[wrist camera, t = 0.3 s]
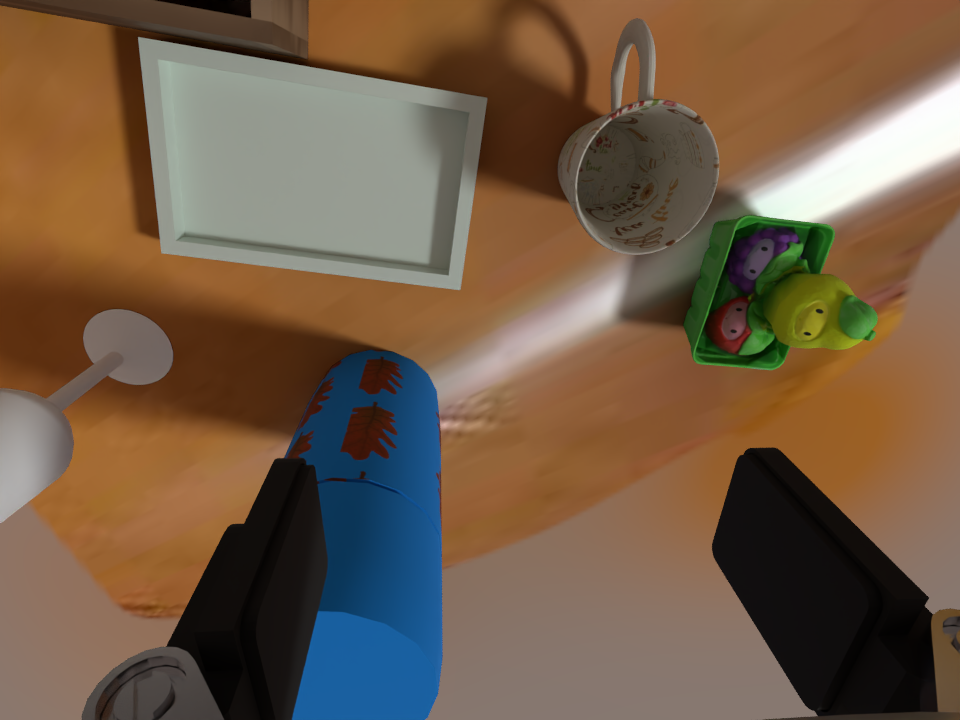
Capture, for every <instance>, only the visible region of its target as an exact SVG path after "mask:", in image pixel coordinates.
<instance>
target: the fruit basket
mask: <svg viewBox="0 0 960 720" xmlns="http://www.w3.org/2000/svg"><path fill="white" fill-rule="evenodd" d="M834 237H835V231H834V229H833V228H832V227H831V226H830V225H827V224H819V223H810V222H801V221H793V220H784V219H776V218H768V217H761V216H754V215H747V216H743V217H740V218H738V219H733V220H726V221H718V222H716V223H715V224H714V227H713V230H712V233H711V237H710V244H709V245H710V248H708V250H707V252H706V253H705V256H704V259H703V263H702V266H701V269H700V276H701V277H700V278H699V279H698V281H697V282H696V285H695V288H694V292H693V295H692V298H691V305H692V306H691V307H690V308H689V310H688V311H687V314H686V317H685V321H684V324H683V326H684V329H685V332H686V334H687V337H688V340H689V342H690V345H691V353H692V357H693V360H694V361H695V362H696V363H698V364H704V365H719V366H732V367H744V368H753V369H763V370H774V369H776V368H778V367H780V366H781V365H782V364H783V363H784V361H785V358H786V356H787V354H788V351H789V349H790V346H792V347H797V348H818V347H824V348H828V349H834V350H843V349H847V348H850V347H852V346H854V345H856V344H858V343H859V342H861V341H862V340H863V339H864V340H868V341H871V340H872V339H873V338H874V337H875V335H876V332H875V331H873V330H872V329H873V328H874V326H875V325H876V323H877V314H876V312H875V310H874V309H873V308H872V307H871V306H869V305H868V304H866V303H864V302H863V301H861V300H860V299H858V298H857V297H856V296H855V295H854V293H853V292H852V290H851V289H850V288H849V286H848V285H847V284H846V283H844V282H843V281H842V280H840V279H839V278H837V277H835V276H833V275H831V274H820V273H821V271H822V268H823V266H824V263H825V261H826V258H827V256H828V253H829V251H830V248H831V246H832V243H833V240H834Z"/></svg>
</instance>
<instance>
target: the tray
mask: <svg viewBox="0 0 960 720" xmlns="http://www.w3.org/2000/svg"><path fill="white" fill-rule="evenodd" d="M138 42H139V52H140V61H141V70H142V79H143V88H144V97H145V106H146V116H147V125H148V134H149V143H150V152H151V161H152V171H153V180H154V189H155V198H156V207H157V216H158V225H159V235H160V244H161V253H165V254H173V255H181V256H189V257H197V258H205V259H213V260H221V261H229V262H237V263H245V264H253V265H262V266H270V267H278V268H286V269H294V270H302V271H310V272H318V273H326V274H334V275H342V276H350V277H358V278H366V279H374V280H382V281H391V282H399V283H407V284H415V285H423V286H431V287H439V288H447V289H455V290H460V288H461V281H462V274H463V267H464V260H465V253H466V246H467V239H468V232H469V225H470V218H471V211H472V204H473V197H474V189H475V182H476V175H477V168H478V161H479V154H480V147H481V140H482V133H483V126H484V119H485V112H486V105H487V98H485V97H479V96H474V95H468V94H462V93H457V92H451V91H445V90H439V89H434V88H428V87H422V86H416V85H411V84H405V83H399V82H393V81H388V80H382V79H376V78H371V77H365V76H359V75H353V74H348V73H342V72H336V71H330V70H325V69H319V68H313V67H308V66H302V65H296V64H290V63H285V62H279V61H273V60H267V59H262V58H256V57H250V56H244V55H239V54H233V53H227V52H222V51H216V50H210V49H204V48H199V47H193V46H187V45H181V44H176V43H170V42H164V41H159V40H153V39H147V38H141V37H138Z"/></svg>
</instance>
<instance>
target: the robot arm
mask: <svg viewBox="0 0 960 720" xmlns="http://www.w3.org/2000/svg"><path fill="white" fill-rule="evenodd" d="M712 551H713V556H714V558H715V560H716V562H717V564H718V565H719V567H720V569H721V570H722V572H723V573H724V575H725V577H726V578H727V580H728V582H729V583H730V585H731V586H732V588H733V590H734V591H735V593H736V595H737V596H738V598H739V599H740V601H741V603H742V604H743V606H744V607H745V609H746V611H747V612H748V614H749V616H750V617H751V619H752V621H753V622H754V624H755V625H756V627H757V629H758V630H759V632H760V633H761V635H762V637H763V638H764V640H765V642H766V643H767V645H768V646H769V648H770V650H771V651H772V653H773V654H774V656H775V658H776V659H777V661H778V663H779V664H780V666H781V667H782V669H783V671H784V672H785V674H786V676H787V677H788V679H789V680H790V682H791V684H792V685H793V687H794V689H795V690H796V692H797V693H798V695H799V696H800V698H801V700H802V701H803V703H804V704H805V705H806V706H807V707H808V708H809V709H811V710H814V711H815V712H816V714H817V715H818V716H816V717H800V718H799V717H798V718H782V719H765V720H960V610H957V609H943V610H939V611H937V612H936V613H935V614H932V613H931V612H929V610H928V609H927V608H926V607H925V604H926V602H927V600H928V599H929V597H928V596H926V594H925V593H924V592H923V591H922V590H921V589H920V588H919V587H917V585H915V583H913V582H912V580H910V579H909V578H908V577H907V576H906V575H905V574H904V573H903V572H902V571H901V570H900V569H899V568H898V567H897V566H896V565H895V564H894V563H893V562H892V561H891V560H890V559H889V558H888V557H887V556H886V555H885V554H884V553H883V552H882V551H881V550H880V549H879V548H878V547H877V546H876V545H875V544H874V543H873V542H872V541H871V540H870V539H869V538H868V537H867V536H866V535H865V534H864V533H863V532H862V531H861V530H860V529H859V528H858V527H857V526H856V525H855V524H854V523H853V522H852V521H851V520H850V519H849V518H848V517H847V516H846V515H845V514H844V513H843V512H842V511H841V510H840V509H839V508H838V507H837V506H836V505H835V504H834V503H833V502H832V501H831V500H830V499H829V498H828V497H827V496H826V495H825V494H823V492H822V491H821V490H819V489H818V487H817V486H815V484H813V483H812V481H810V479H808V478H807V477H806V476H805V475H804V474H803V473H802V472H801V471H800V470H799V469H798V468H797V467H796V466H795V465H794V464H793V463H792V462H791V461H790V460H789V459H788V458H787V457H786V456H785V455H784V454H783V453H782V452H781V451H780V450H778V449H776V448H750V449H747V450H746V451H745V453H744V455H740V456H739V457H738V459H737V462H736V465H735V468H734V472H733V475H732V479H731V482H730V485H729V489H728V492H727V496H726V499H725V502H724V506H723V509H722V512H721V516H720V519H719V522H718V526H717V529H716V533H715V536H714V540H713V543H712ZM327 569H328V556H327V549H326V542H325V535H324V527H323V520H322V513H321V506H320V498H319V491H318V484H317V477H316V470H315V466H314V465H306V461H305V459H304V458H277V459H275V460H274V462H273V464H272V466H271V468H270V470H269V472H268V474H267V477H266V479H265V481H264V483H263V485H262V487H261V489H260V491H259V493H258V496H257V498H256V500H255V502H254V504H253V506H252V508H251V510H250V513H249V515H248V517H247V519H246V521H245V523H244V524H232V525H230V526H229V527H228V528H227V529H226V531H225V532H224V534H223V536H222V538H221V540H220V542H219V544H218V546H217V548H216V550H215V552H214V554H213V556H212V558H211V560H210V562H209V564H208V566H207V568H206V569H205V571H204V573H203V575H202V577H201V579H200V581H199V583H198V585H197V587H196V589H195V591H194V593H193V595H192V597H191V599H190V601H189V603H188V605H187V607H186V609H185V611H184V613H183V615H182V617H181V619H180V621H179V622H178V625H177V627H176V629H175V631H174V632H173V634H172V636H171V638H170V640H169V642H168V644H167V646H166V647H159V648H155V649H150V650H146V651H144V652H141V653H139V654H137V655H135V656H133V657H131V658H128V659H127V660H126V661H124V662H123V663H121V664H120V665H118V666H117V667H115V668H114V669H113V670H112V671H111V672H109V674H107V675H106V676H105V677H104V678H103V680H102V681H100V682H99V683H98V685H97V686H96V688H95V689H94V691H93V692H92V693H91V695H90V696H89V698H88V699H87V702H86V705H85V708H84V711H83V713H82V720H292V717H293V712H294V708H295V704H296V700H297V696H298V692H299V688H300V683H301V679H302V675H303V671H304V667H305V663H306V659H307V654H308V650H309V646H310V642H311V638H312V634H313V630H314V625H315V621H316V617H317V613H318V609H319V605H320V601H321V596H322V592H323V588H324V584H325V580H326V575H327Z"/></svg>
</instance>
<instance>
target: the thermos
mask: <svg viewBox="0 0 960 720" xmlns="http://www.w3.org/2000/svg"><path fill="white" fill-rule="evenodd" d="M284 458H304V459H305V461H306V465H314V466H315V470H316V477H317V484H318V491H319V498H320V506H321V513H322V520H323V527H324V535H325V542H326V549H327V556H328V569H327V575H326V580H325V584H324V588H323V592H322V596H321V601H320V605H319V609H318V613H317V617H316V621H315V625H314V630H313V634H312V638H311V642H310V646H309V650H308V654H307V659H306V663H305V667H304V671H303V675H302V679H301V683H300V688H299V692H298V696H297V700H296V704H295V708H294V712H293V717H292V720H425V719H426V718H427V717H428V715H429V713H430V711H431V708H432V706H433V704H434V702H435V699H436V697H437V695H438V690H439V681H440V673H441V665H442V559H441V557H442V539H441V431H440V420H439V410H438V400H437V391H436V389H435V387H434V385H433V383H432V381H431V379H430V377H429V375H428V374H427V373H426V372H425V371H424V370H423V369H422V368H421V367H419V366H418V365H417V364H416V363H415V362H414V361H413V360H411V359H408V358H406V357H404V356H401V355H399V354H397V353H394V352H389V351H378V350H368V351H364V352H359V353H355V354H351V355H348V356H347V357H345V358H344V359H342V360H341V361H339V362H337V363H336V364H334V365H333V366H332V367H331V368H330V370H329V371H328V373H327V374H326V375H325V377H324V378H323V380H322V381H321V383H320V384H319V386H318V388H317V390H316V391H315V393H314V395H313V396H312V398H311V400H310V402H309V403H308V406H307V408H306V410H305V412H304V415H303V417H302V419H301V421H300V423H299V426H298V428H297V430H296V432H295V435H294V437H293V439H292V441H291V444H290V446H289V448H288V450H287V453H286V455H285V457H284Z"/></svg>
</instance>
